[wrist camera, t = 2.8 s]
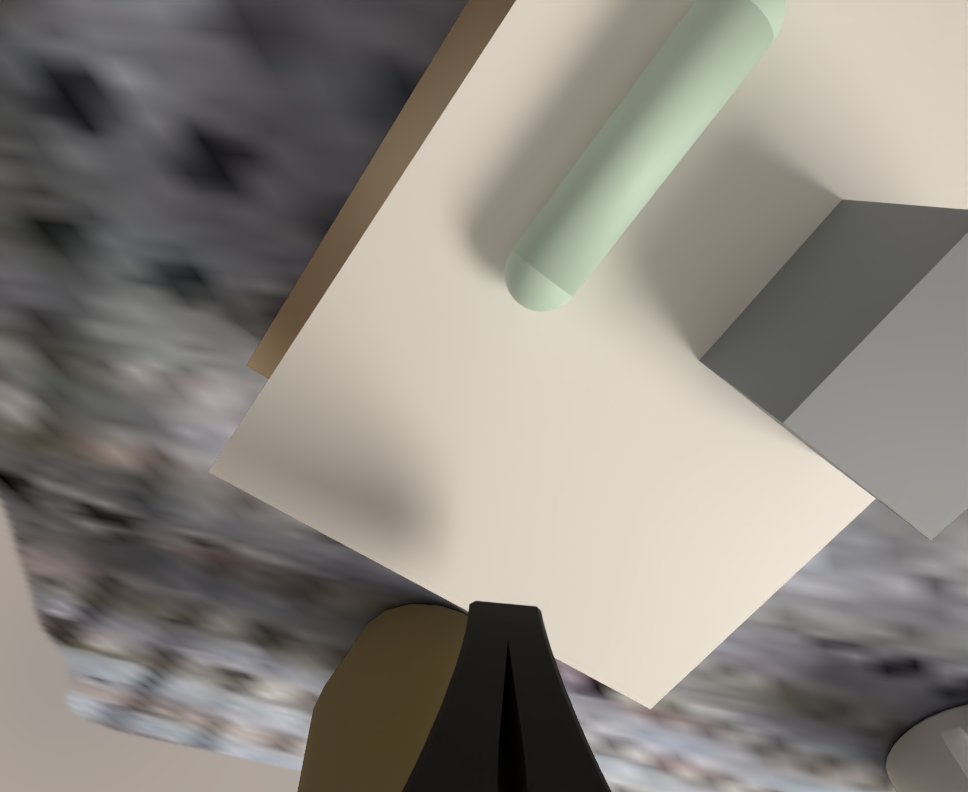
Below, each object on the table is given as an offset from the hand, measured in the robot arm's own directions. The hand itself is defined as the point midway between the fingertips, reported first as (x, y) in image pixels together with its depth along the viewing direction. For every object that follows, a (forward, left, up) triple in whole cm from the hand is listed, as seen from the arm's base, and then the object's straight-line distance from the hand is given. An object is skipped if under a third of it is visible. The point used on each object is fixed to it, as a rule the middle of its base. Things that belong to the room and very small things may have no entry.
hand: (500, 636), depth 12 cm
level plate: (0, -8, -4) cm, 9 cm away
